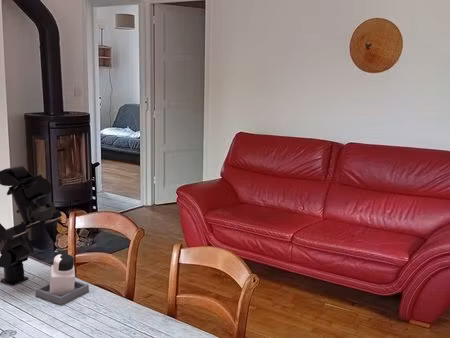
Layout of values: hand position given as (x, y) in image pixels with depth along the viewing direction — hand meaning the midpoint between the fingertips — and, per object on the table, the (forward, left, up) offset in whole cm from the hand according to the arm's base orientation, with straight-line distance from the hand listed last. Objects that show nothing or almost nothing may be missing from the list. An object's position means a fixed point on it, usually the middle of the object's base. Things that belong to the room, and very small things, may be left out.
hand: (44, 247), depth 164 cm
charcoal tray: (+9, -1, -14) cm, 16 cm away
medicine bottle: (+8, -1, -13) cm, 15 cm away
